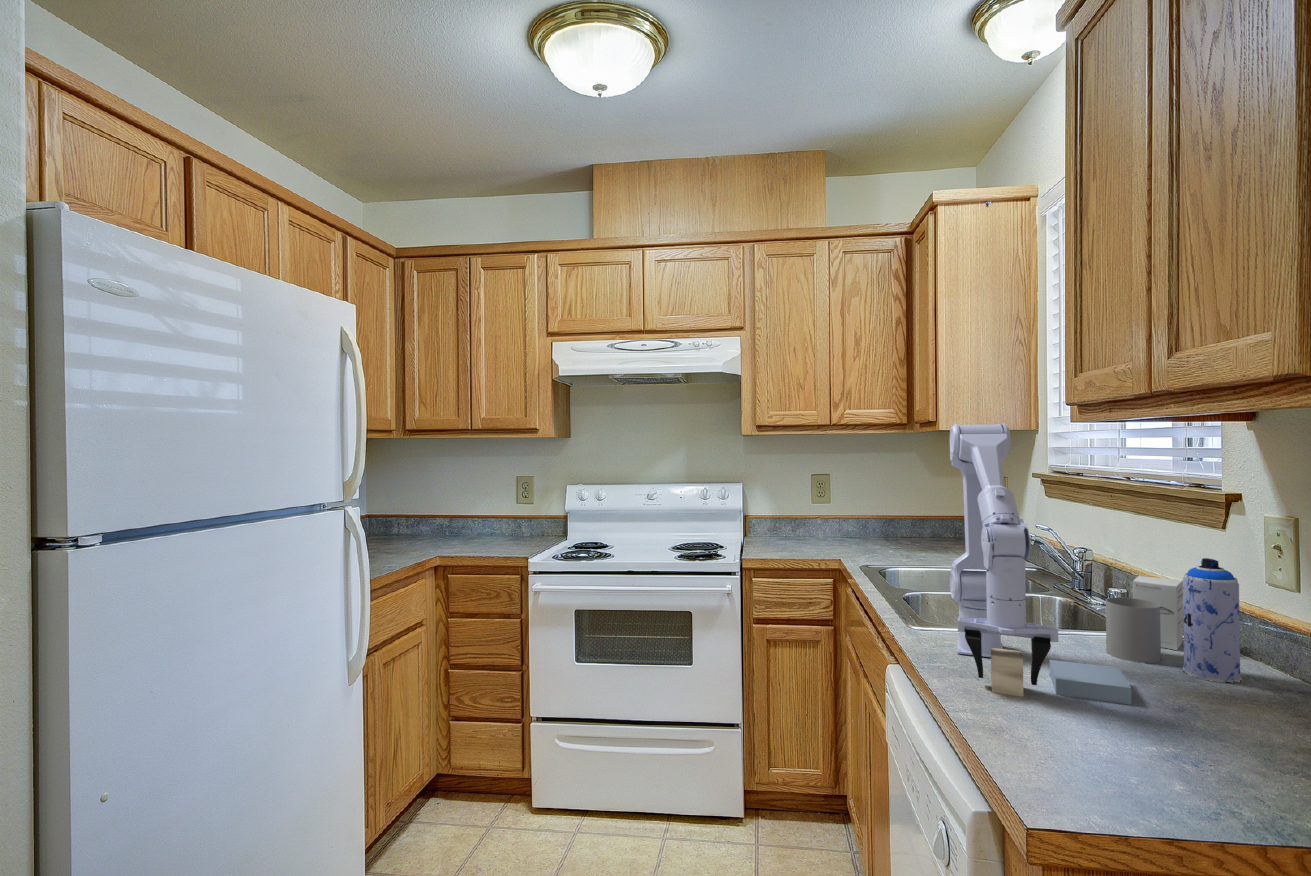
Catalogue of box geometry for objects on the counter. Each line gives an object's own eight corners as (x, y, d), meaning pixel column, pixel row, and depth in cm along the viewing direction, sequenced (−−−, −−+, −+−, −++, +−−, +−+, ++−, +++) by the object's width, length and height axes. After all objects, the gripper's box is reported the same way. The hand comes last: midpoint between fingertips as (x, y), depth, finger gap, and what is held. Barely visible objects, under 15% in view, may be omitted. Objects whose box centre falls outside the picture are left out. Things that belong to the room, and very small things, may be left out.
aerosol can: (1178, 664, 120) (1176, 554, 120) (1234, 671, 116) (1232, 557, 116) (1188, 678, 113) (1186, 561, 113) (1248, 686, 109) (1246, 564, 109)
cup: (1163, 665, 120) (1162, 610, 120) (1107, 658, 124) (1107, 604, 124) (1157, 652, 127) (1156, 600, 127) (1105, 646, 131) (1104, 595, 131)
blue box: (1049, 676, 116) (1049, 659, 116) (1118, 685, 111) (1118, 667, 112) (1056, 697, 107) (1056, 678, 107) (1131, 707, 102) (1131, 687, 102)
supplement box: (1131, 643, 133) (1130, 580, 133) (1139, 635, 138) (1138, 574, 138) (1178, 651, 127) (1177, 585, 127) (1184, 642, 133) (1183, 579, 133)
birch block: (991, 683, 112) (991, 647, 112) (1021, 687, 110) (1021, 651, 110) (991, 692, 108) (991, 655, 108) (1023, 696, 106) (1022, 659, 106)
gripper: (956, 597, 109) (957, 680, 109) (1059, 606, 102) (1061, 695, 102) (958, 589, 115) (958, 667, 115) (1055, 596, 109) (1056, 680, 109)
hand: (1006, 679), depth 109 cm, fingers open, 7 cm apart
